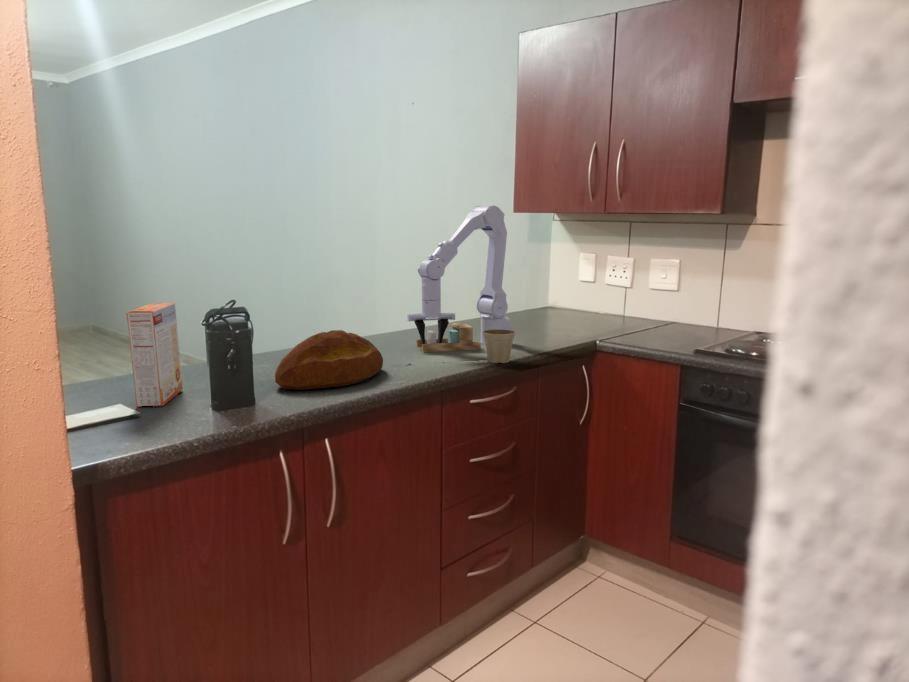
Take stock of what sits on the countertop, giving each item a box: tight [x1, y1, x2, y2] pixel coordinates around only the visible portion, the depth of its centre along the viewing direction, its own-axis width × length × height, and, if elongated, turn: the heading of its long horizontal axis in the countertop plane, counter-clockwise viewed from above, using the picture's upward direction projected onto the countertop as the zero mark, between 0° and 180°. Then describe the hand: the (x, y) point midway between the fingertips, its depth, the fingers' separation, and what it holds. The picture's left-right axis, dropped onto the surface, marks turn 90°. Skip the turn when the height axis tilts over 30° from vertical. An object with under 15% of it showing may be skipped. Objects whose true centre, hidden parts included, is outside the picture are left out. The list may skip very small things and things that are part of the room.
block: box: [447, 329, 459, 343], centre depth 203 cm, size 4×4×4 cm
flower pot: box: [483, 329, 517, 364], centre depth 186 cm, size 9×9×9 cm
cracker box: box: [126, 302, 184, 408], centre depth 145 cm, size 14×6×21 cm, turn 5°
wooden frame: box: [415, 322, 482, 353], centre depth 203 cm, size 18×10×8 cm, turn 104°
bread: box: [274, 329, 384, 391], centre depth 164 cm, size 21×33×12 cm, turn 139°
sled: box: [426, 330, 437, 344], centre depth 203 cm, size 12×7×5 cm, turn 104°
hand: (431, 343), depth 202 cm, fingers open, 5 cm apart
